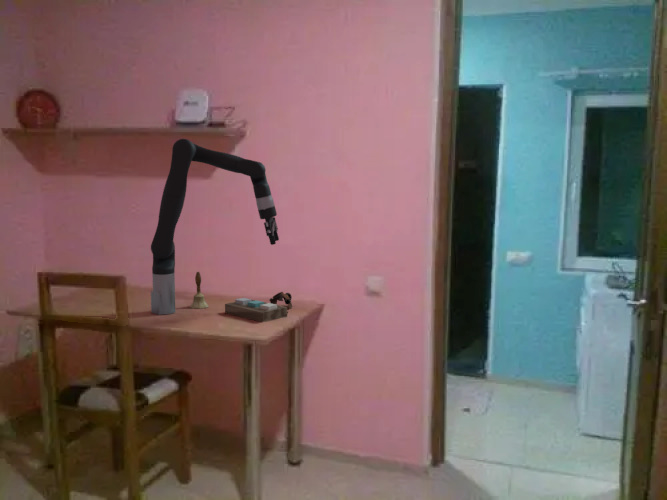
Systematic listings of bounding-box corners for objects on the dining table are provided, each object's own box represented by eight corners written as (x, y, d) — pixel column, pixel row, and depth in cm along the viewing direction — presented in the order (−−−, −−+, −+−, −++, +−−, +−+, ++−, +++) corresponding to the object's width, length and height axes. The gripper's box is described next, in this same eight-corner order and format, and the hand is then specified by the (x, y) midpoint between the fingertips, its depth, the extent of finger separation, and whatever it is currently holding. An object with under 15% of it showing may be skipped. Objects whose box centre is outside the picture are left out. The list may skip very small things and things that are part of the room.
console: (263, 322, 251) (263, 312, 250) (225, 312, 266) (224, 303, 265) (287, 316, 261) (287, 307, 261) (249, 307, 276) (249, 299, 276)
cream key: (268, 311, 254) (268, 306, 254) (260, 310, 258) (260, 304, 257) (277, 309, 258) (277, 304, 258) (268, 308, 261) (268, 303, 261)
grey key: (242, 306, 265) (242, 301, 264) (235, 304, 268) (235, 299, 268) (251, 304, 268) (251, 299, 268) (243, 302, 272) (243, 297, 271)
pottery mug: (288, 312, 271) (278, 296, 270) (273, 318, 276) (263, 303, 275) (300, 300, 281) (291, 285, 280) (285, 306, 286) (276, 292, 285)
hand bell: (193, 309, 272) (192, 274, 270) (187, 306, 279) (186, 271, 277) (211, 307, 276) (210, 272, 274) (204, 304, 283) (204, 270, 281)
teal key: (255, 308, 260) (255, 303, 259) (247, 307, 263) (247, 302, 263) (264, 307, 263) (264, 302, 263) (256, 305, 267) (256, 300, 266)
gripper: (261, 206, 275) (269, 241, 278) (254, 210, 261) (263, 247, 264) (277, 203, 274) (285, 237, 277) (271, 207, 260) (280, 243, 263)
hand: (275, 242), depth 271 cm, fingers open, 8 cm apart
